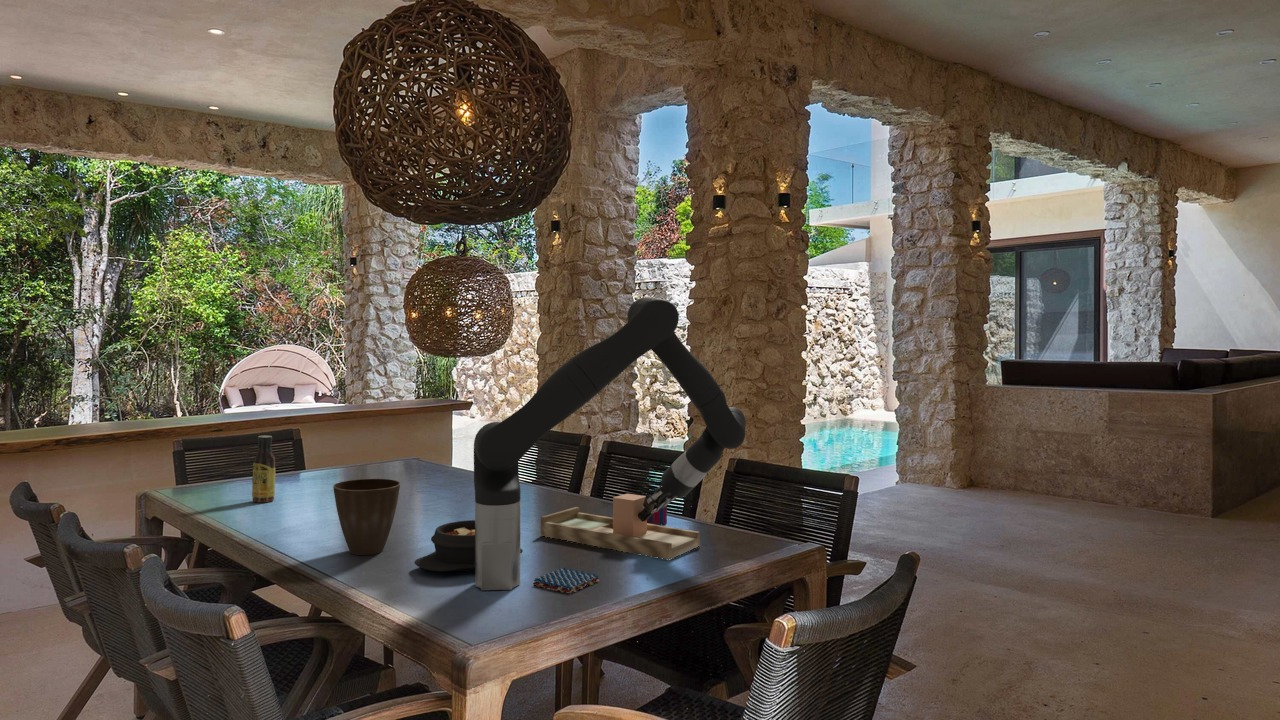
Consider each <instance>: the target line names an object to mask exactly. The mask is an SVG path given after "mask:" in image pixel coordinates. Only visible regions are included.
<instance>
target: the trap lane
mask: <svg viewBox="0 0 1280 720" xmlns="http://www.w3.org/2000/svg"><path fill="white" fill-rule="evenodd" d="M541 536H545V537H544V538H547V537H550V538H549V539H552V538H556V539H555V540H557V539H561V540H560V541H562V540H567V541H566V542H568V541H573V542H579V543H583V544H582V545H584V544H588V545H587V546H589V545H593V546H592V547H594V546H599V547H598V548H600V547H603V548H602V549H605V548H609V549H608V550H610V549H613V550H612V551H616V550H618V551H617V552H621V551H623V552H622V553H626V552H629V553H628V554H632V553H635V554H634V555H637V554H641V555H640V556H642V555H647V556H652V557H651V558H653V557H658V558H663V559H668V560H667V561H670V560H669V559H671V558H673V559H675V558H674V557H676V556H678V555H680V554H682V553H684V552H687V551H689V550H691V549H693V548H696V547H698V546H700V547H701V544H700V543H701V532H700V531H696V530H690V529H684V528H678V527H672V526H667V525H666V526H665V525H655V524H648V523H647V533H644V534H641V535H639V536H636V537H632V536H627V535H621V534H615V533H613V517H612V516H611V517H610V516H604V515H599V514H598V515H597V514H593V513H586V512H580V507H579V506H574V507H571V508H567V509H564V510H560V511H557V512H553V513H549V514H546V515H542V516H540V537H541ZM573 542H572V543H573ZM698 548H699V547H698ZM696 549H697V548H696ZM689 552H690V551H689ZM687 553H688V552H687ZM647 556H646V557H647ZM680 556H681V555H680ZM678 557H679V556H678ZM658 558H657V559H658ZM676 558H677V557H676ZM663 559H662V560H663ZM671 560H672V559H671Z"/></svg>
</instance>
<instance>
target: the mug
mask: <svg viewBox="0 0 1280 720" xmlns="http://www.w3.org/2000/svg"><path fill="white" fill-rule="evenodd" d="M667 516H668V505H667V506H665V507H664V508H663V509H659V510H658V511H657V512H655V513H654V514H653V515H652V516H651V517H650V518H649V519H648V520H647V523H648V524H655V525H661V524H664V525H666V524H667V523H668V521H667V520H668V517H667ZM661 526H662V525H661Z"/></svg>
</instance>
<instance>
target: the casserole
mask: <svg viewBox="0 0 1280 720" xmlns="http://www.w3.org/2000/svg"><path fill="white" fill-rule="evenodd" d="M430 541H431V543H432V544H434V550H435V551H433V552H431V553H429V554H426V555H425V556H422V557H419V558H416V559H415V560H414V564H415V565H416V567H419V568H421V569H422V570H423V569H424V570H426V571H432V572H440V573H441V572H442V573H443V572H450V571H451V572H452V571H457V572H475V519H474V520H459V521H452V522H448V523H444V524H442V525H439V526H437V527H436V528H435V530H434V533H433V535H432V536H431V538H430ZM523 552H524V550H523V549H522V548H521V547H520V555H521V554H522V553H523Z"/></svg>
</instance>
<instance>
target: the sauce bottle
mask: <svg viewBox="0 0 1280 720" xmlns="http://www.w3.org/2000/svg"><path fill="white" fill-rule="evenodd" d="M257 442H258V444H257V451H256V454H255V458H254V459H253V463H252V479H251V481H252V484H251V485H252V487H251V488H252V489H251V490H252V491H251V493H252V494H251V496H252V502H253V503H259V504H264V503H265V504H266V503H269V502H273V501H274V500H275V495H276V493H275V492H276V489H275V488H276V456H275V455H274V454H273V451H272V450H273V448H272V445H273V444H272V443H273V436H272V435H259V436H257Z"/></svg>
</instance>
